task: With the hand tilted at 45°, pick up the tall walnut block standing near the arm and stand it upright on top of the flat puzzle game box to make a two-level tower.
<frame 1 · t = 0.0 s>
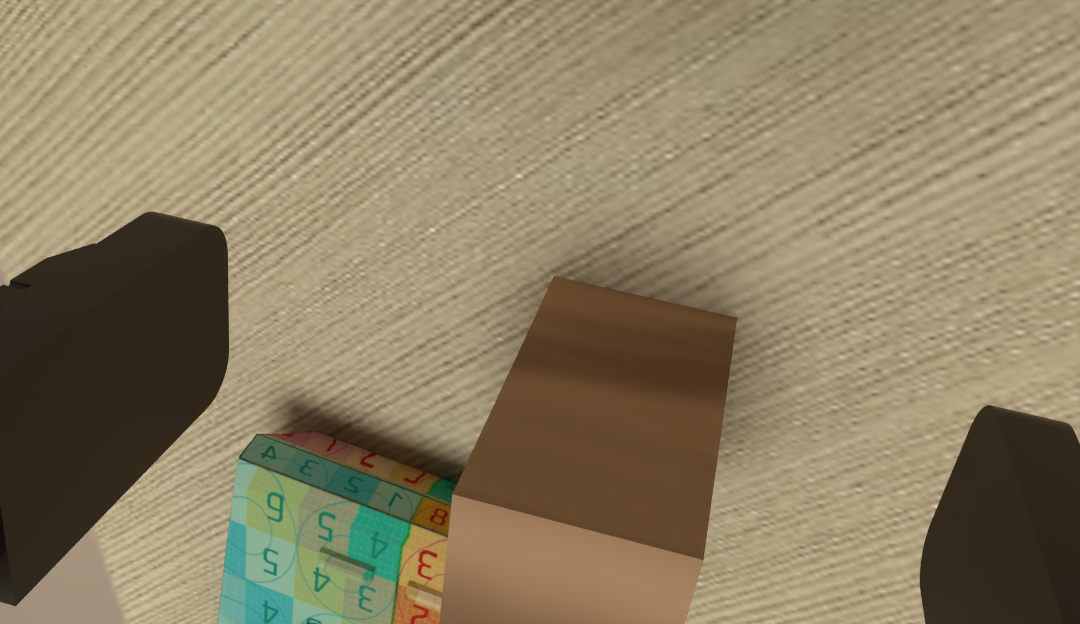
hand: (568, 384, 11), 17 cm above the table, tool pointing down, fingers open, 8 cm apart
walnut block: (628, 371, 31), on the table
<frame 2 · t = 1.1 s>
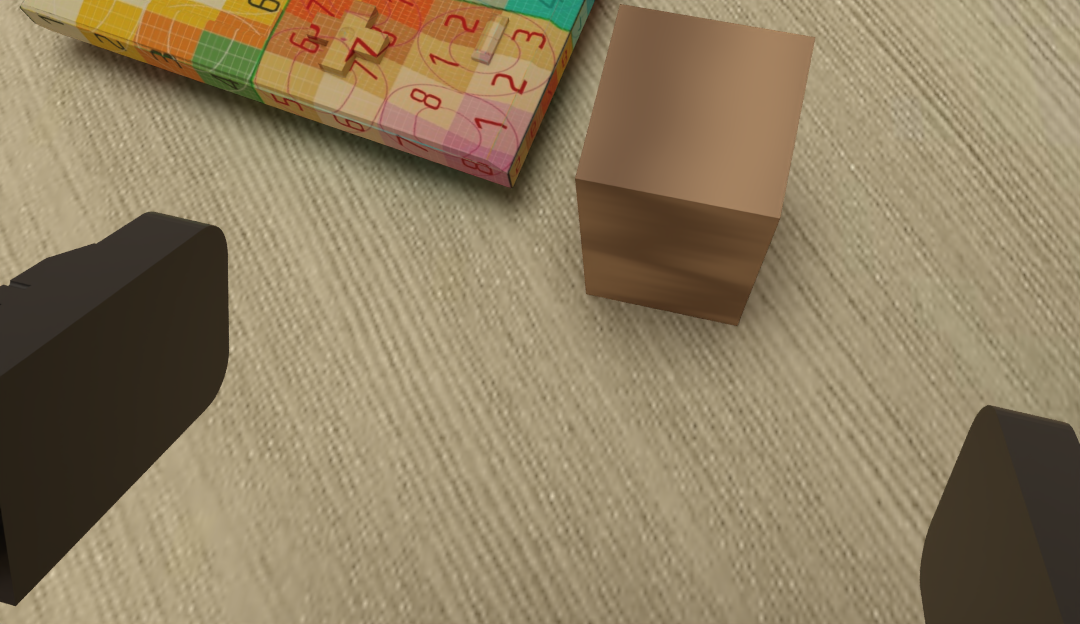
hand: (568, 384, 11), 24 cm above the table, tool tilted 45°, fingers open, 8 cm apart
walnut block: (676, 239, 37), on the table
puzzle game: (348, 15, 42), on the table
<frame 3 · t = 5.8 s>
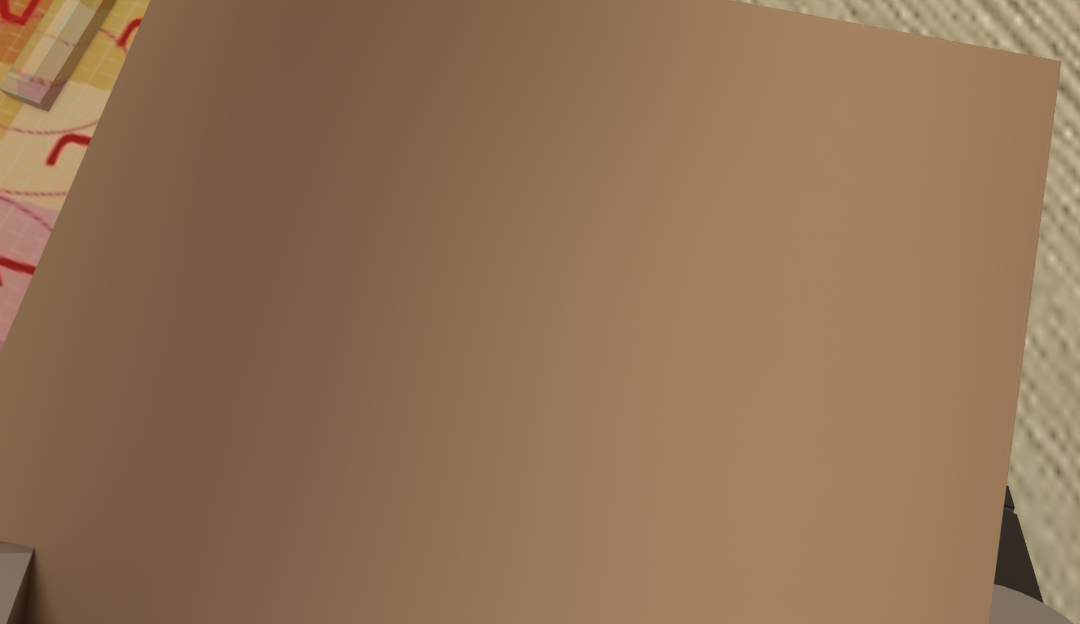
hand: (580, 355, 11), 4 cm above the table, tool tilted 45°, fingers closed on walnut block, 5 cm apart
walnut block: (560, 547, 15), on the table, touching gripper
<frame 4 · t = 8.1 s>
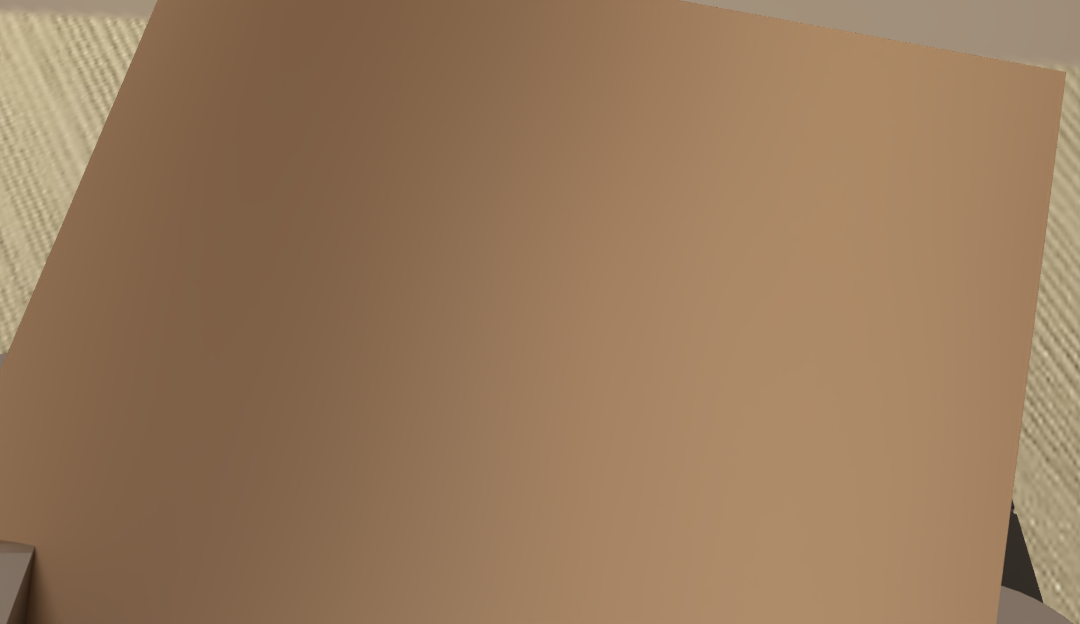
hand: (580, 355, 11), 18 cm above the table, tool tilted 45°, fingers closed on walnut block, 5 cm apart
walnut block: (562, 552, 15), point 14 cm above the table, touching gripper
when the fingers open (11 cm above the table, at t = 10.5 s): walnut block drops 2 cm, point 4 cm above the table.
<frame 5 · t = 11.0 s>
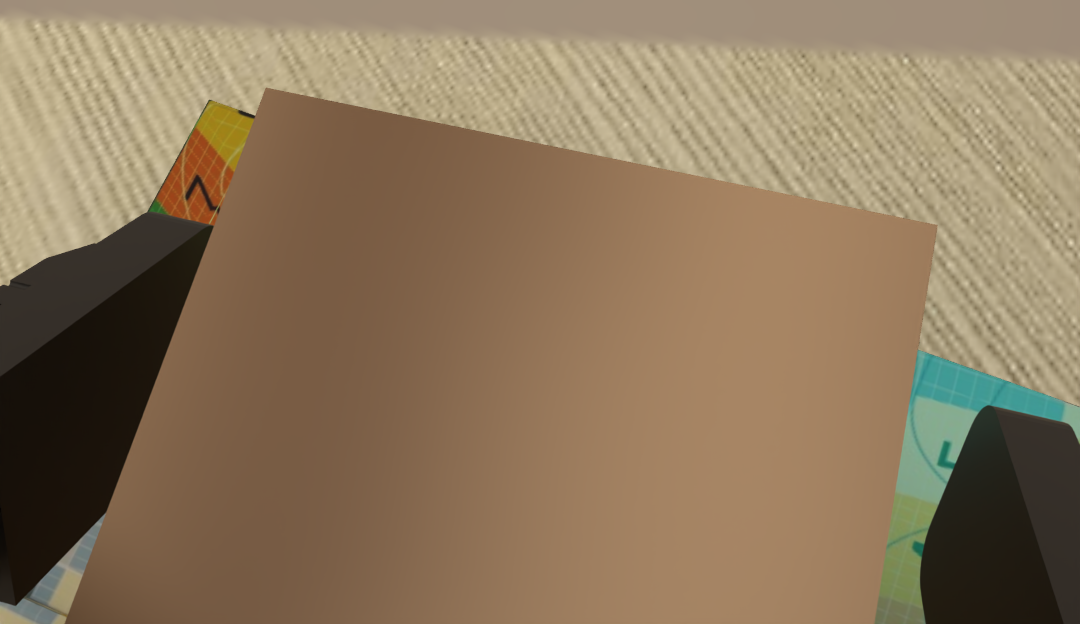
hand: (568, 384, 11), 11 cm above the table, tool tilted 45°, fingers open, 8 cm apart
walnut block: (561, 570, 17), point 4 cm above the table
puzzle game: (558, 565, 22), on the table
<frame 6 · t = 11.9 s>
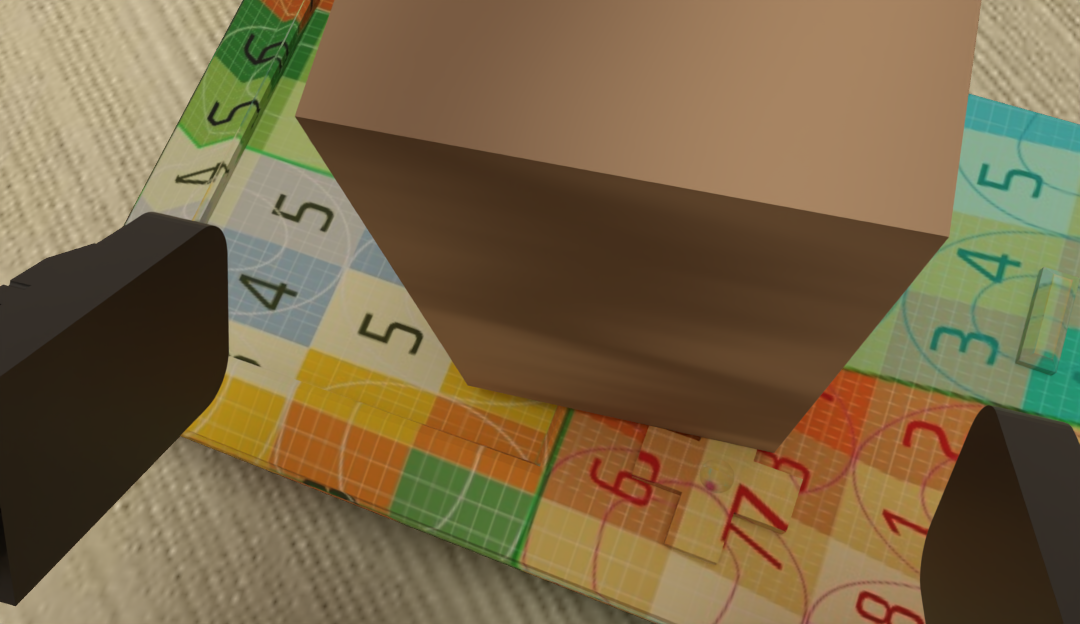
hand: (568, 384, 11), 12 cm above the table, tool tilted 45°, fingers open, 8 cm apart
walnut block: (649, 274, 19), point 4 cm above the table
puzzle game: (622, 332, 23), on the table
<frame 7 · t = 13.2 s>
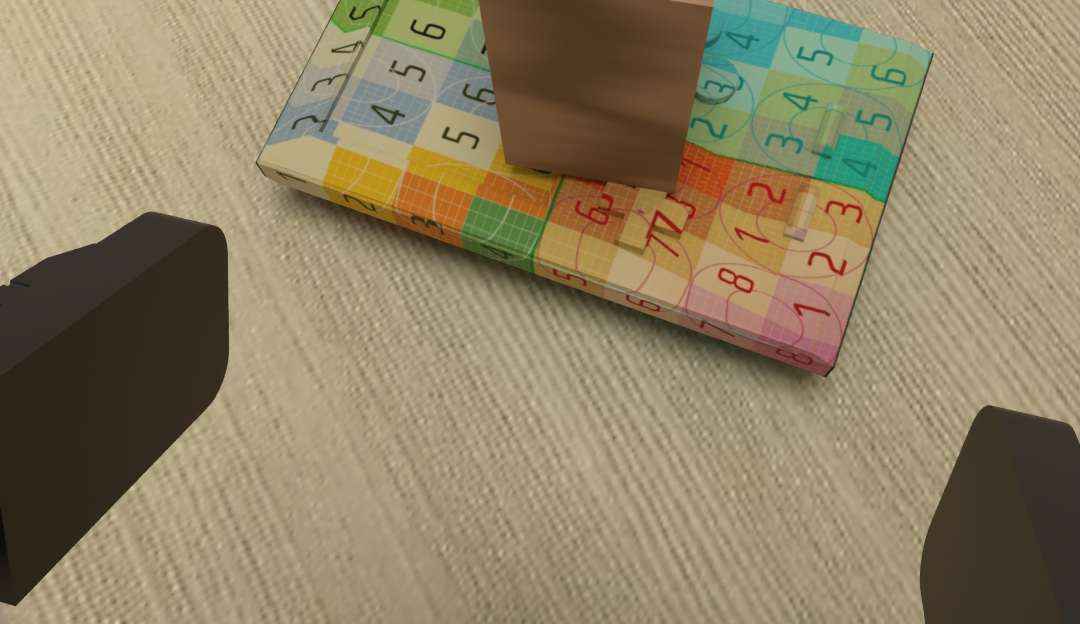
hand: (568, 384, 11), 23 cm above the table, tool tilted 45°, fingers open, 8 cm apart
walnut block: (605, 103, 33), point 4 cm above the table, touching puzzle game
puzzle game: (594, 160, 38), on the table, touching walnut block
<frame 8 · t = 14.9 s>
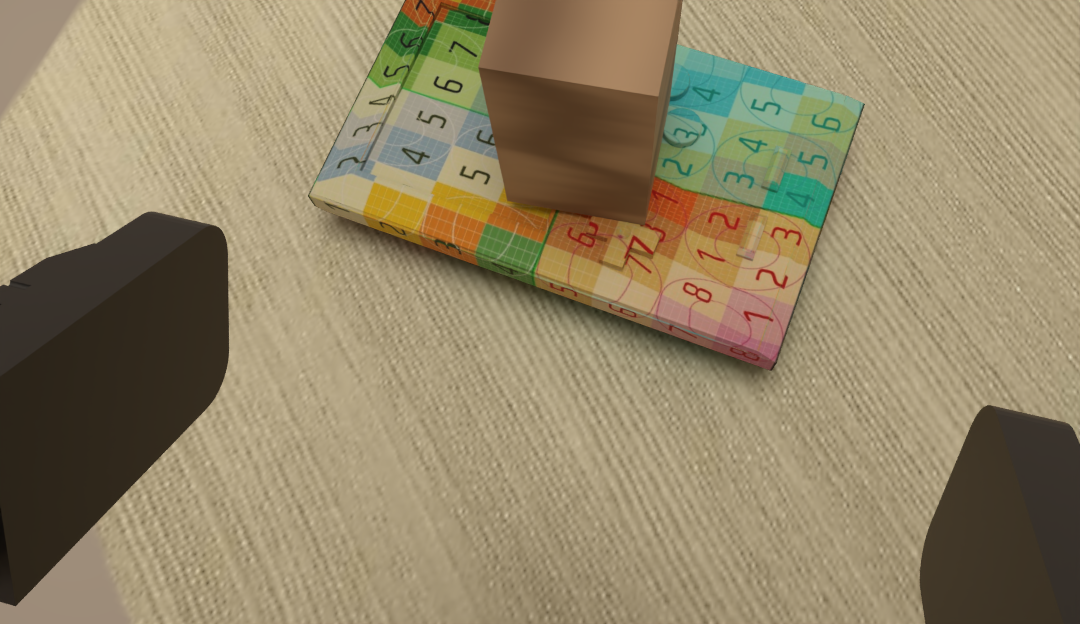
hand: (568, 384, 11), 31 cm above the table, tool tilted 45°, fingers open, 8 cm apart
walnut block: (589, 150, 41), point 4 cm above the table
puzzle game: (587, 189, 45), on the table
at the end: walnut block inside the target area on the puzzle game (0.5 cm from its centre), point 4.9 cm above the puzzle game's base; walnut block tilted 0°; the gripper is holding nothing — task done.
